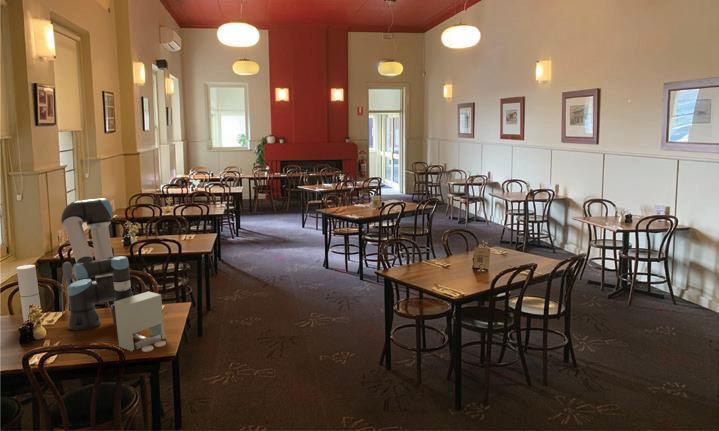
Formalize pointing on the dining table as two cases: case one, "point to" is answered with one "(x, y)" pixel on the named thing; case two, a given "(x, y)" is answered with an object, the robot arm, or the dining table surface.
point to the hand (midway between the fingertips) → (127, 334)
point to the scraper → (145, 340)
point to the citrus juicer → (68, 276)
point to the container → (28, 288)
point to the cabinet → (138, 317)
